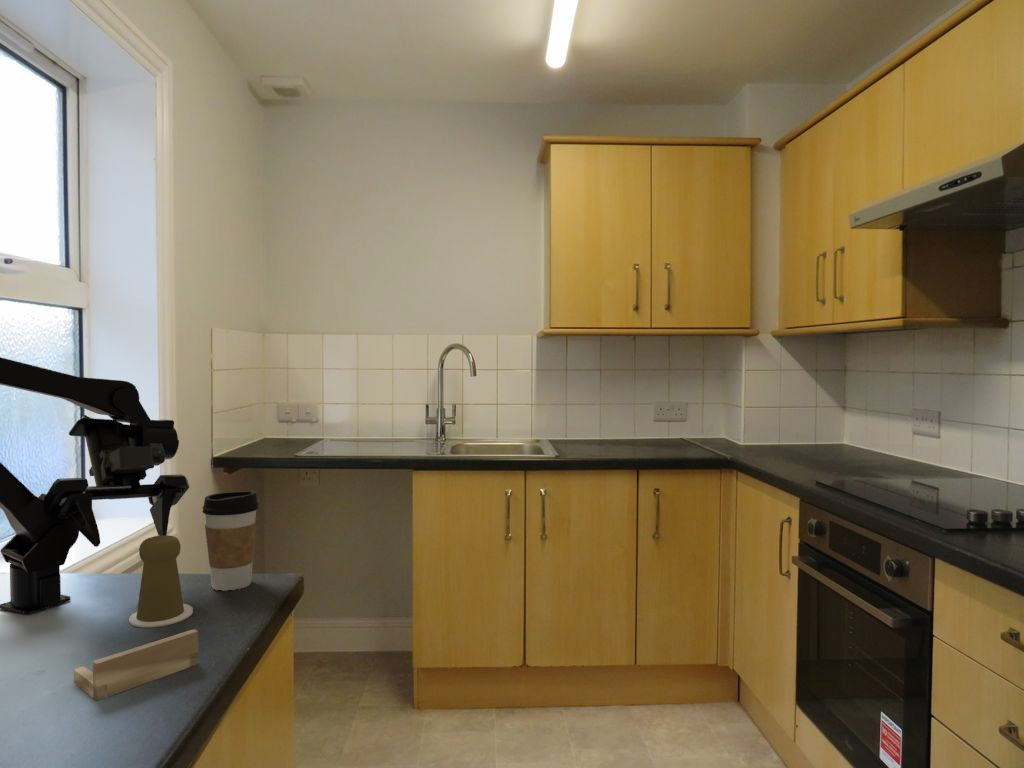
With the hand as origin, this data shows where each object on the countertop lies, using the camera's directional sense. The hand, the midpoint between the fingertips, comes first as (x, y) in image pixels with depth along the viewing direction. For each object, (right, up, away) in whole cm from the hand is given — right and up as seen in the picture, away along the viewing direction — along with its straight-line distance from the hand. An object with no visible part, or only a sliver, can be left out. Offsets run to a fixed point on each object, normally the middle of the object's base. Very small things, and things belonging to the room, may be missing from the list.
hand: (132, 541), depth 98 cm
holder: (+13, -10, -21) cm, 27 cm away
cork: (+6, -10, -4) cm, 12 cm away
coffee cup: (+11, -10, +9) cm, 17 cm away
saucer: (+6, -10, -4) cm, 12 cm away
